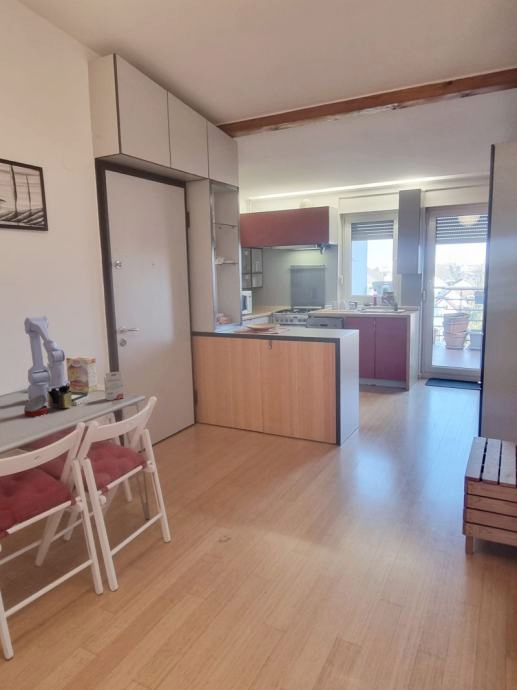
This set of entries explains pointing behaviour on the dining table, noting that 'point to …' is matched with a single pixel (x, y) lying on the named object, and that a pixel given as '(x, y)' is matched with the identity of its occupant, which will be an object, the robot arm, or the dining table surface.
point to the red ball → (36, 407)
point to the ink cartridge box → (113, 386)
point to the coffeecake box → (82, 374)
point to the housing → (60, 400)
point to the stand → (79, 398)
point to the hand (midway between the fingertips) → (59, 402)
